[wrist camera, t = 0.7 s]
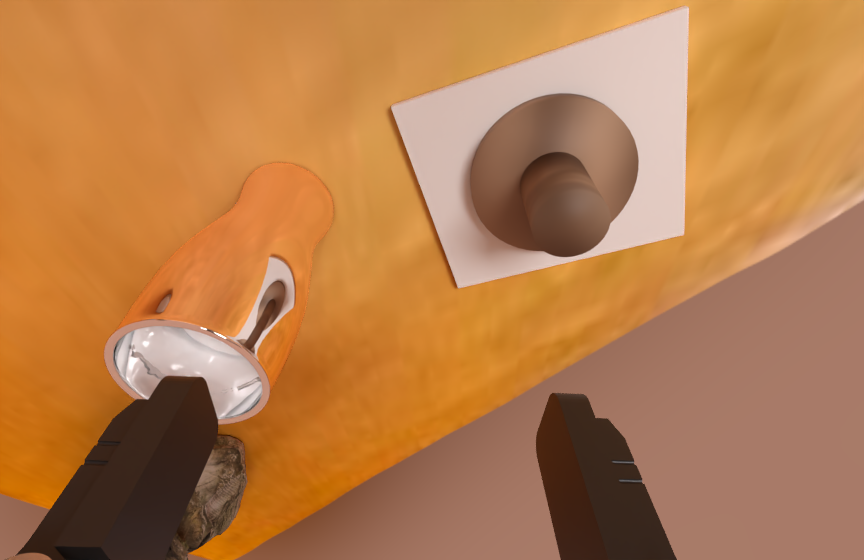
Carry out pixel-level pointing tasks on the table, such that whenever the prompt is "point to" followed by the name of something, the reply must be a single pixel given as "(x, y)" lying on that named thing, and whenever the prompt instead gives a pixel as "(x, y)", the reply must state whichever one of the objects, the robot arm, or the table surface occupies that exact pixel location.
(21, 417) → the table surface
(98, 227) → the table surface
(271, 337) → the beer glass
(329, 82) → the table surface
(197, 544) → the hollow geode rock
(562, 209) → the walnut lid
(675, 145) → the white mat
